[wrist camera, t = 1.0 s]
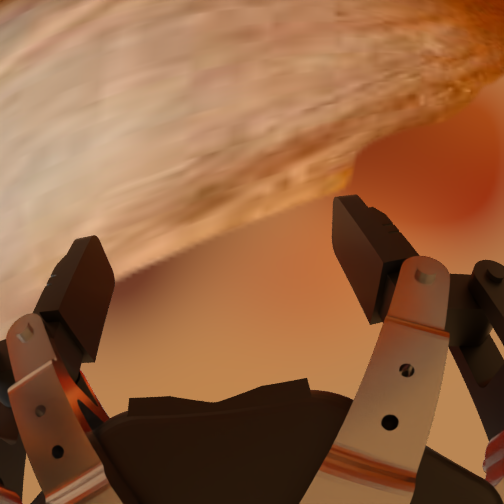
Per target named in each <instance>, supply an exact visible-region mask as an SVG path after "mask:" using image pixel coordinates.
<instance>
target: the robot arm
mask: <svg viewBox="0 0 504 504" xmlns="http://www.w3.org/2000/svg"><path fill="white" fill-rule="evenodd" d="M332 221H333V222H332V244H333V249H334V252H335V255H336V257H337V259H338V261H339V263H340V265H341V267H342V269H343V271H344V273H345V274H346V276H347V278H348V280H349V282H350V284H351V286H352V288H353V290H354V292H355V294H356V296H357V298H358V301H359V303H360V305H361V307H362V308H363V311H364V313H365V315H366V317H367V319H368V321H369V323H370V325H372V324H376V323H380V322H383V326H382V329H381V332H380V334H379V337H378V340H377V343H376V346H375V348H374V351H373V354H372V356H371V359H370V362H369V364H368V367H367V369H366V372H365V374H364V377H363V379H362V382H361V384H360V386H359V389H358V392H357V394H356V396H355V398H354V400H352V399H350V398H348V397H345V396H342V395H340V394H336V393H332V392H327V391H319V390H310V388H309V384H308V380H307V378H304V379H299V380H294V381H288V382H283V383H277V384H271V385H265V386H260V387H258V388H256V389H253V390H250V391H247V392H245V393H242V394H239V395H237V396H234V397H231V398H228V399H226V400H223V401H220V402H214V403H212V402H211V403H210V402H204V401H196V400H189V399H183V398H177V397H171V396H166V397H146V398H129V406H128V411H126V412H123V413H120V414H118V415H116V416H114V417H112V418H109V416H108V415H107V413H106V412H105V410H104V409H103V407H102V405H101V404H100V402H99V400H98V399H97V397H96V395H95V394H94V392H93V390H92V388H91V386H90V384H89V383H88V381H87V379H86V377H85V375H84V374H83V373H82V371H81V370H80V366H81V363H89V362H95V360H96V355H97V351H98V346H99V343H100V338H101V335H102V331H103V327H104V323H105V319H106V315H107V312H108V308H109V305H110V301H111V298H112V294H113V291H114V287H115V278H114V273H113V270H112V268H111V266H110V264H109V261H108V259H107V257H106V254H105V252H104V250H103V247H102V245H101V243H100V240H99V239H98V237H97V236H95V235H93V236H88V237H84V238H79V239H76V240H75V241H74V242H73V244H72V246H71V248H70V249H69V251H68V253H67V255H65V256H64V258H63V259H62V260H61V261H60V262H59V263H58V264H57V265H56V267H55V268H54V270H53V272H52V274H51V278H49V280H48V282H47V286H45V288H44V290H43V292H42V294H41V296H40V298H39V301H38V303H37V305H36V307H35V309H34V311H33V313H31V314H27V315H24V316H22V317H21V318H19V319H18V320H17V321H15V322H14V324H13V325H12V326H11V327H10V329H9V331H8V333H7V337H6V339H5V340H2V341H0V504H22V491H23V478H24V467H25V459H26V453H27V456H28V458H29V461H30V463H31V466H32V468H33V471H34V473H35V476H36V478H37V480H38V482H39V485H40V487H41V489H42V491H41V492H40V494H39V495H38V496H37V497H36V498H35V499H34V501H33V502H32V503H31V504H504V359H503V357H502V355H501V354H500V352H499V350H498V348H497V347H496V345H495V343H494V341H493V339H492V338H491V336H490V334H489V333H490V332H491V330H492V328H494V330H495V332H496V333H497V335H498V336H499V338H500V340H501V342H502V343H503V345H504V266H503V265H501V264H499V263H497V262H495V261H491V260H482V261H479V262H477V263H476V264H475V266H474V269H473V272H472V274H471V275H464V274H449V272H448V270H447V268H446V267H445V266H444V265H443V264H442V263H440V262H439V261H437V260H435V259H433V258H430V257H426V256H419V255H418V253H417V252H416V251H415V249H414V248H413V247H412V246H411V244H410V243H409V242H408V241H407V240H406V238H405V237H404V236H403V235H402V233H400V232H399V230H398V229H397V227H396V226H395V225H393V223H392V222H391V220H390V219H389V218H388V217H387V216H386V215H385V214H384V213H382V212H380V211H379V210H377V209H376V208H374V207H369V208H368V207H367V206H366V205H365V203H364V202H363V201H362V200H361V198H360V197H359V196H358V195H348V196H339V197H335V198H334V201H333V220H332ZM448 347H449V349H450V351H451V353H452V355H453V357H454V359H455V361H456V363H457V366H458V368H459V370H460V372H461V374H462V377H463V378H464V381H465V383H466V385H467V388H468V390H469V392H470V395H471V397H472V399H473V402H474V404H475V406H476V408H477V411H478V414H479V416H480V419H481V421H482V424H483V426H484V429H485V432H486V434H487V437H488V440H489V443H488V445H487V448H486V452H485V460H484V461H483V470H484V472H485V473H486V478H485V479H483V478H481V477H479V476H477V475H475V474H474V473H472V472H470V471H468V470H467V469H465V468H463V467H461V466H460V465H458V464H456V463H454V462H453V461H451V460H449V459H448V458H446V457H444V456H442V455H441V454H439V453H438V452H436V451H434V450H433V449H431V448H429V447H428V446H426V442H427V439H428V436H429V433H430V429H431V425H432V422H433V418H434V414H435V410H436V406H437V402H438V398H439V393H440V389H441V384H442V379H443V374H444V369H445V363H446V358H447V351H448Z"/></svg>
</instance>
